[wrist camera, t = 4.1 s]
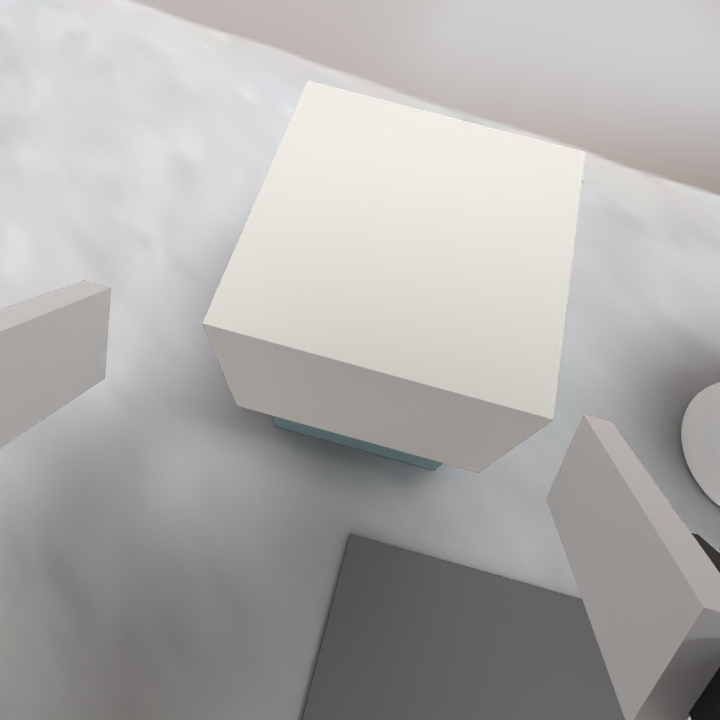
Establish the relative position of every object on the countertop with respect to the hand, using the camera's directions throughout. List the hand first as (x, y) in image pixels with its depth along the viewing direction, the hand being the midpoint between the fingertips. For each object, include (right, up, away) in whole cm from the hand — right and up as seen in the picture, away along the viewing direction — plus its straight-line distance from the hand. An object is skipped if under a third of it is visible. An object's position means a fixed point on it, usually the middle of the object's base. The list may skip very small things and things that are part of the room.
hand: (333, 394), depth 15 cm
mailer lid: (+2, +2, +11) cm, 12 cm away
